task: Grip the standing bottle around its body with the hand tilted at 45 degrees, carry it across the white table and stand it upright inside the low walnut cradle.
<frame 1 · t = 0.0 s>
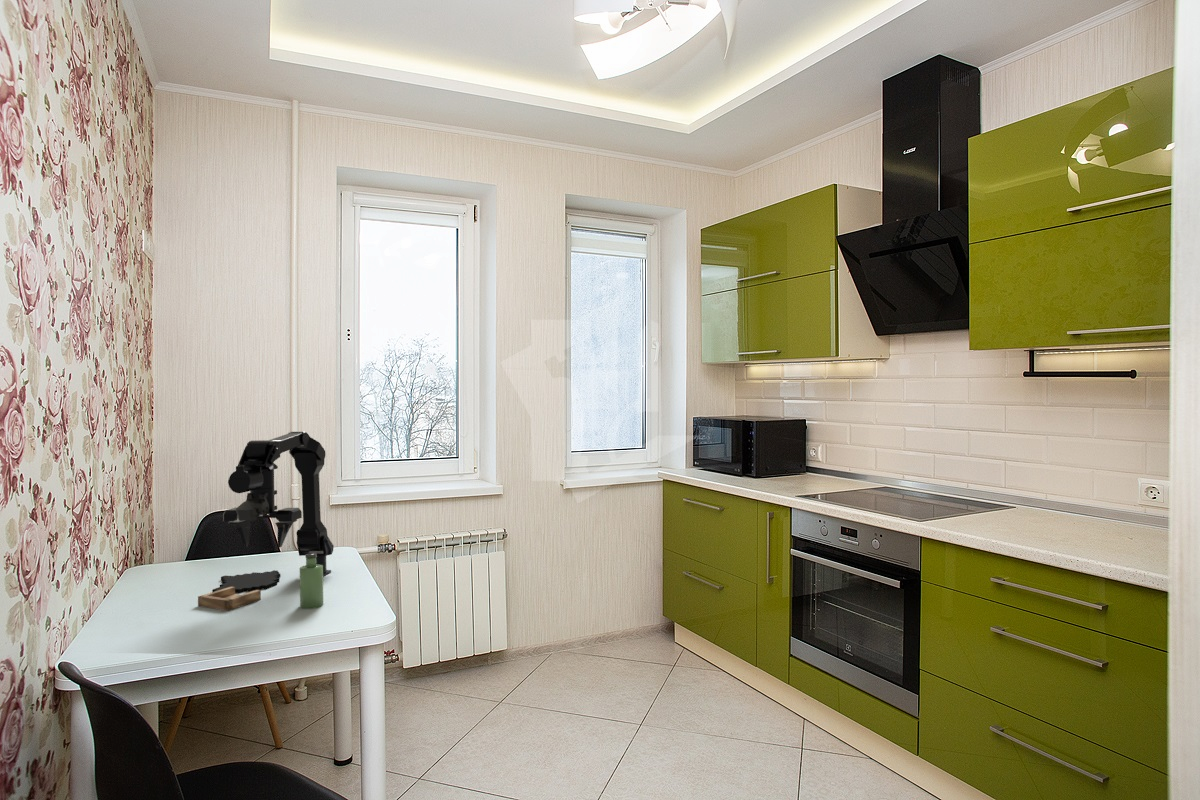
hand: (263, 547, 183), 15 cm above the table, fingers open, 9 cm apart
cradle: (229, 602, 183), on the table
bottle: (311, 605, 180), on the table
decorative item: (245, 586, 202), on the table
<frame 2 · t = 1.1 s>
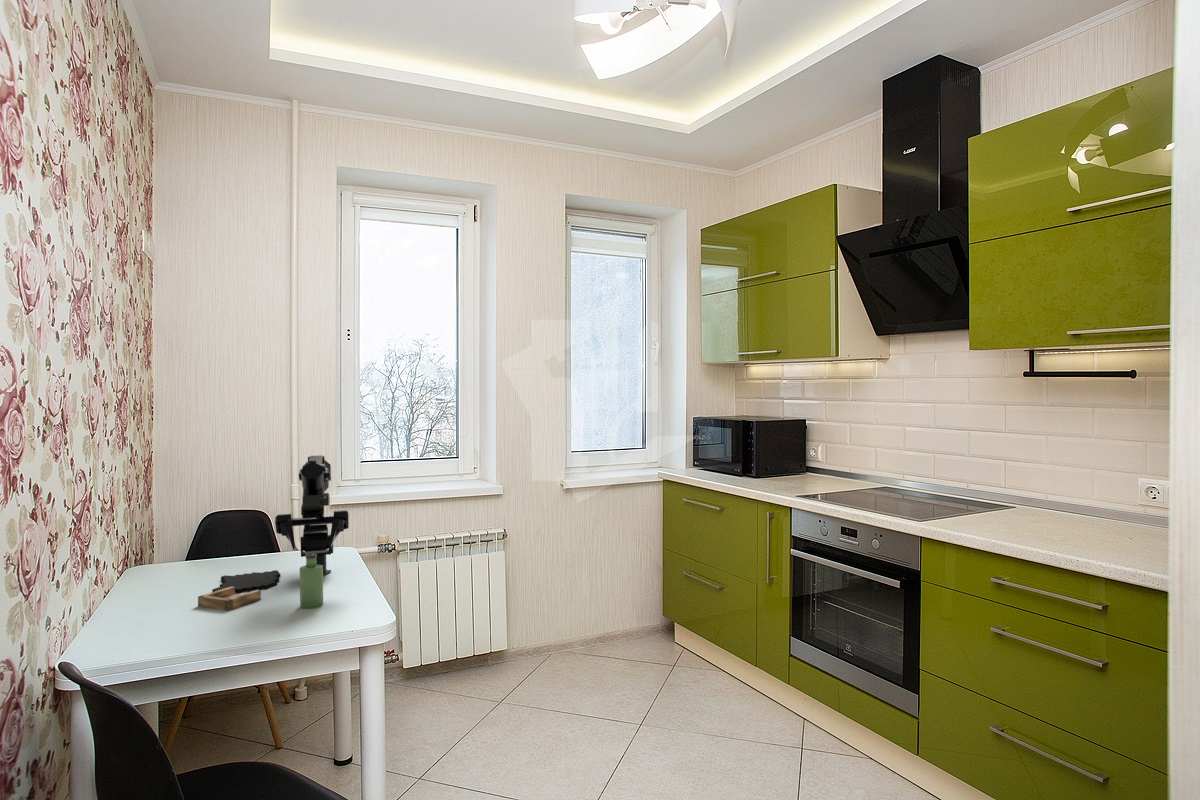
hand: (312, 547, 188), 13 cm above the table, fingers open, 9 cm apart
nothing on the table moved.
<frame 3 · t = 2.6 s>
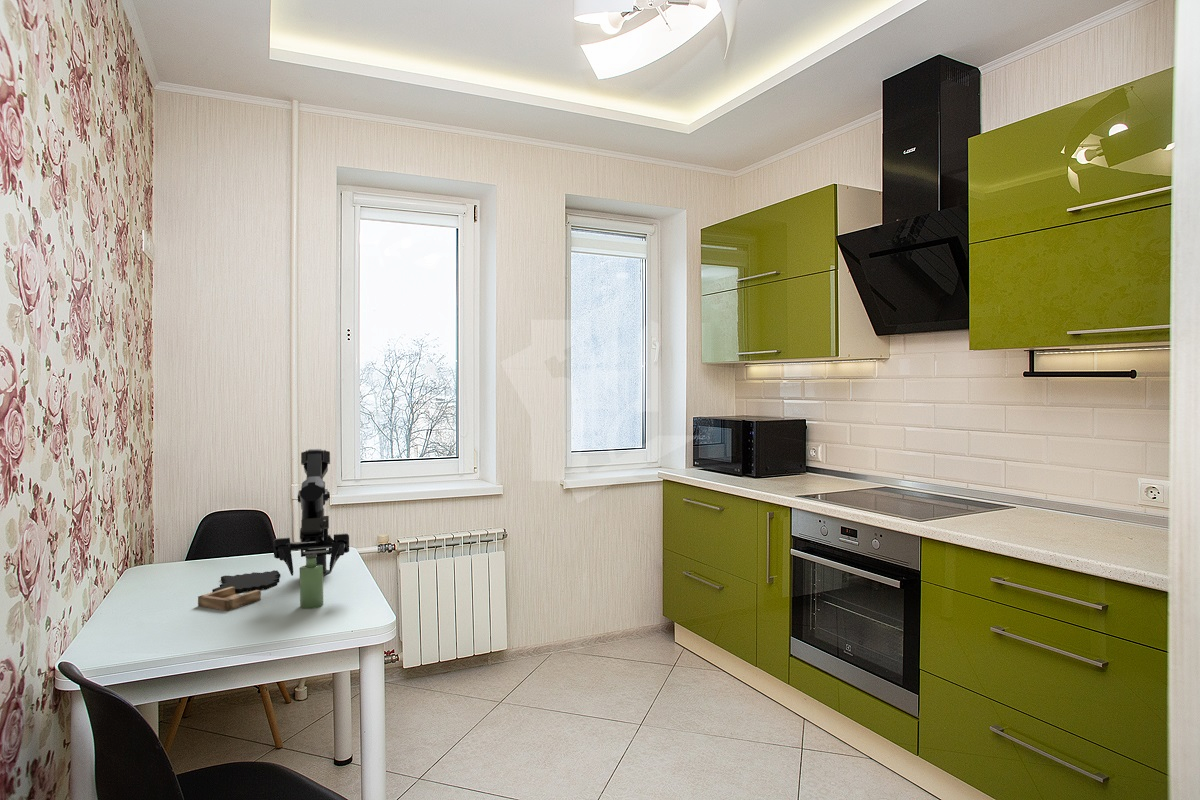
hand: (311, 573, 181), 8 cm above the table, fingers open, 9 cm apart
nothing on the table moved.
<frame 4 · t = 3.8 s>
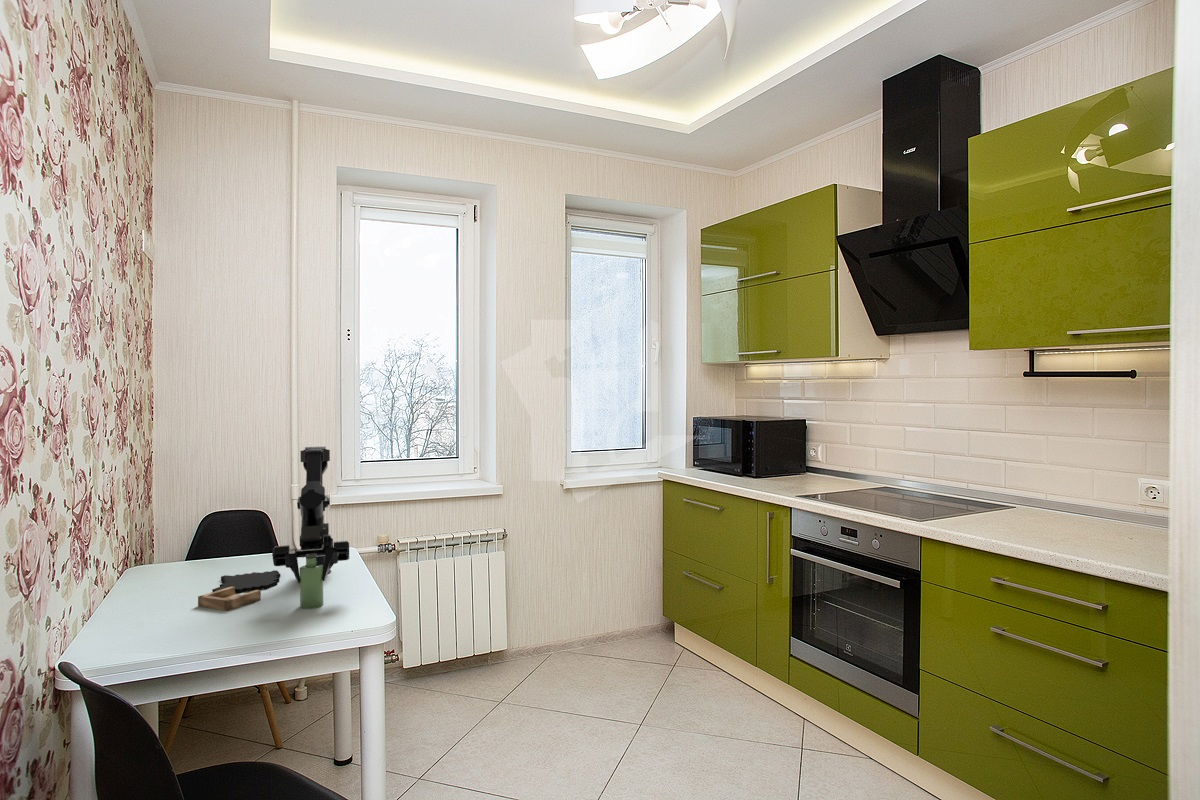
hand: (311, 581, 179), 7 cm above the table, fingers closed on bottle, 6 cm apart
bottle: (311, 605, 180), on the table, touching gripper
everything else where it was.
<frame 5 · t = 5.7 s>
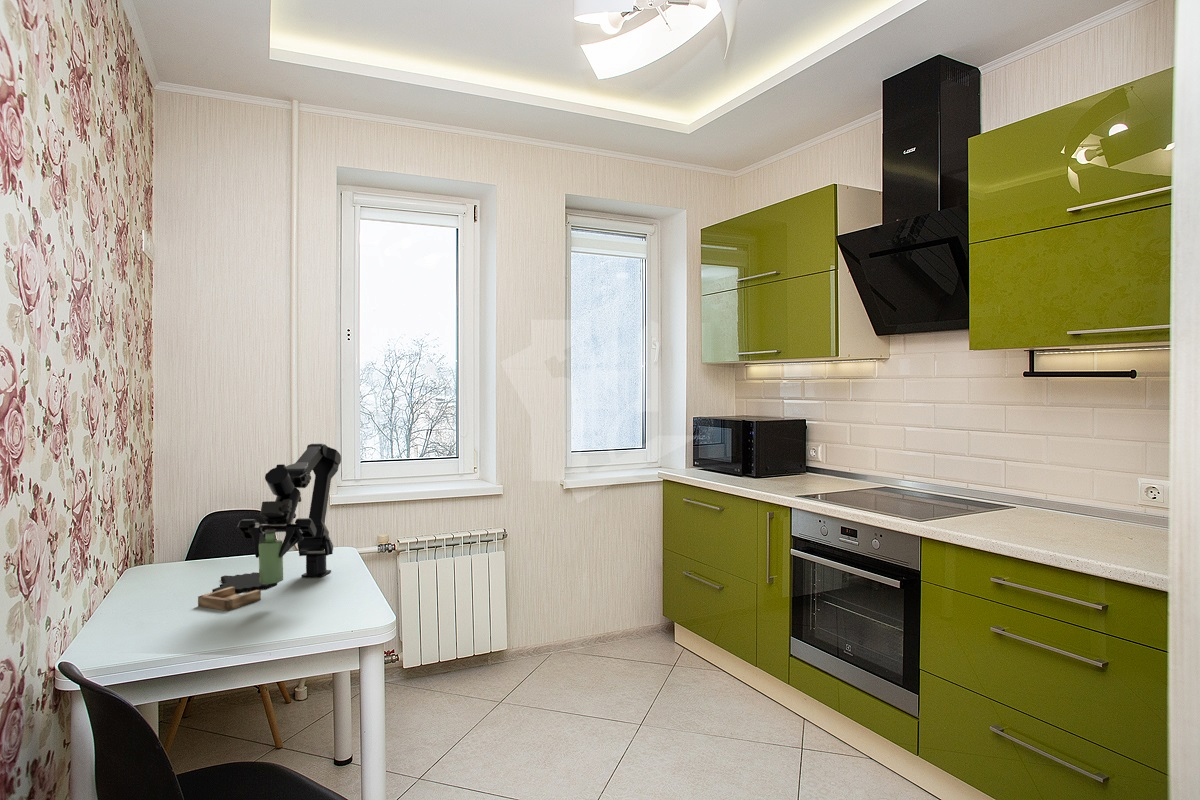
hand: (268, 556, 178), 13 cm above the table, fingers closed on bottle, 6 cm apart
bottle: (271, 580, 180), point 7 cm above the table, touching gripper
everything else where it was.
when the fingers open (7 cm above the table, at t = 8.0 s): bottle stays where it is, resting on cradle.
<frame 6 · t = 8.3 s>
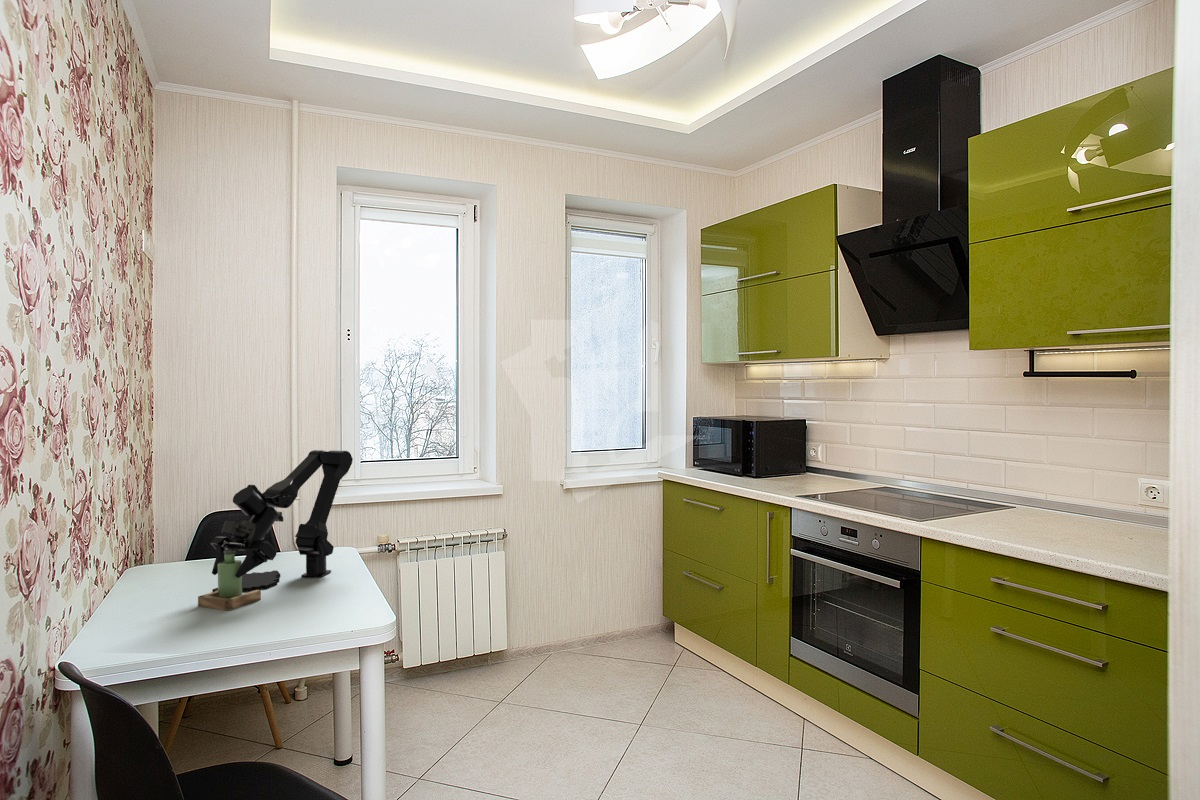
hand: (224, 575, 182), 8 cm above the table, fingers open, 8 cm apart
bottle: (230, 600, 183), point 1 cm above the table, touching cradle
everything else where it was.
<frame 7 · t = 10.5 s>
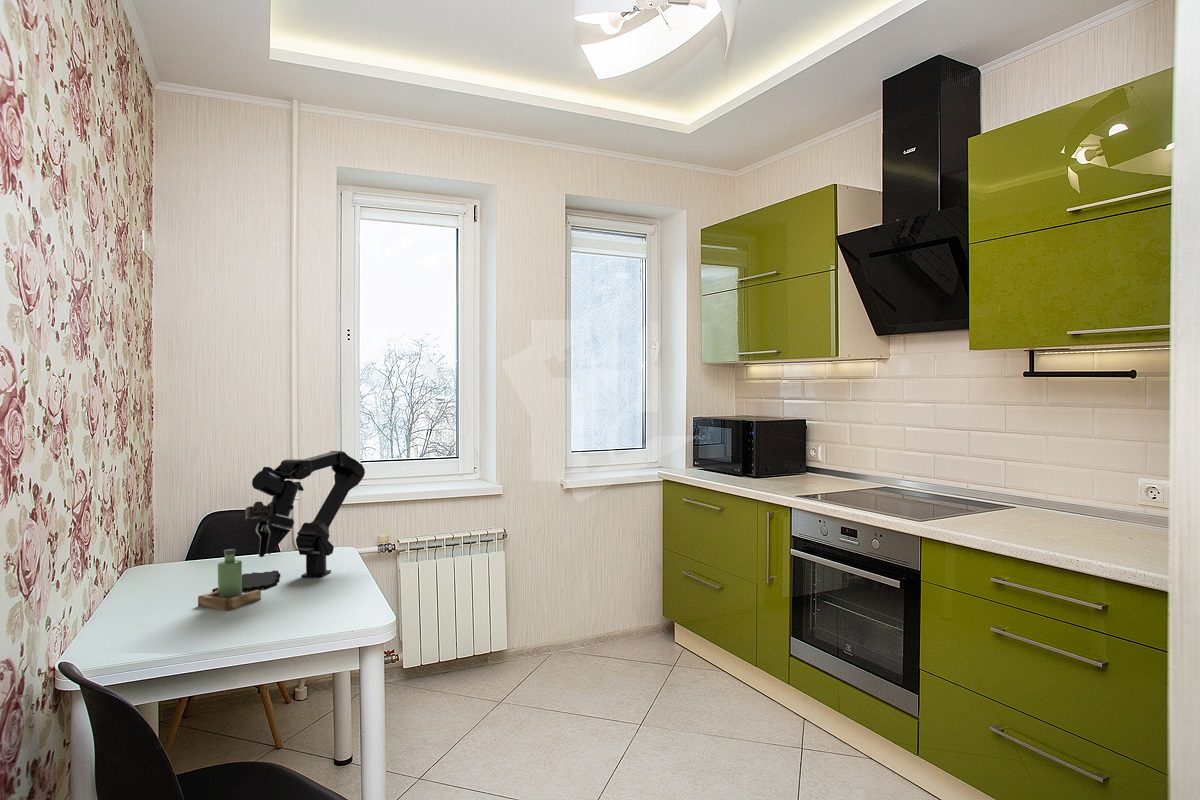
hand: (264, 555, 192), 10 cm above the table, fingers open, 9 cm apart
nothing on the table moved.
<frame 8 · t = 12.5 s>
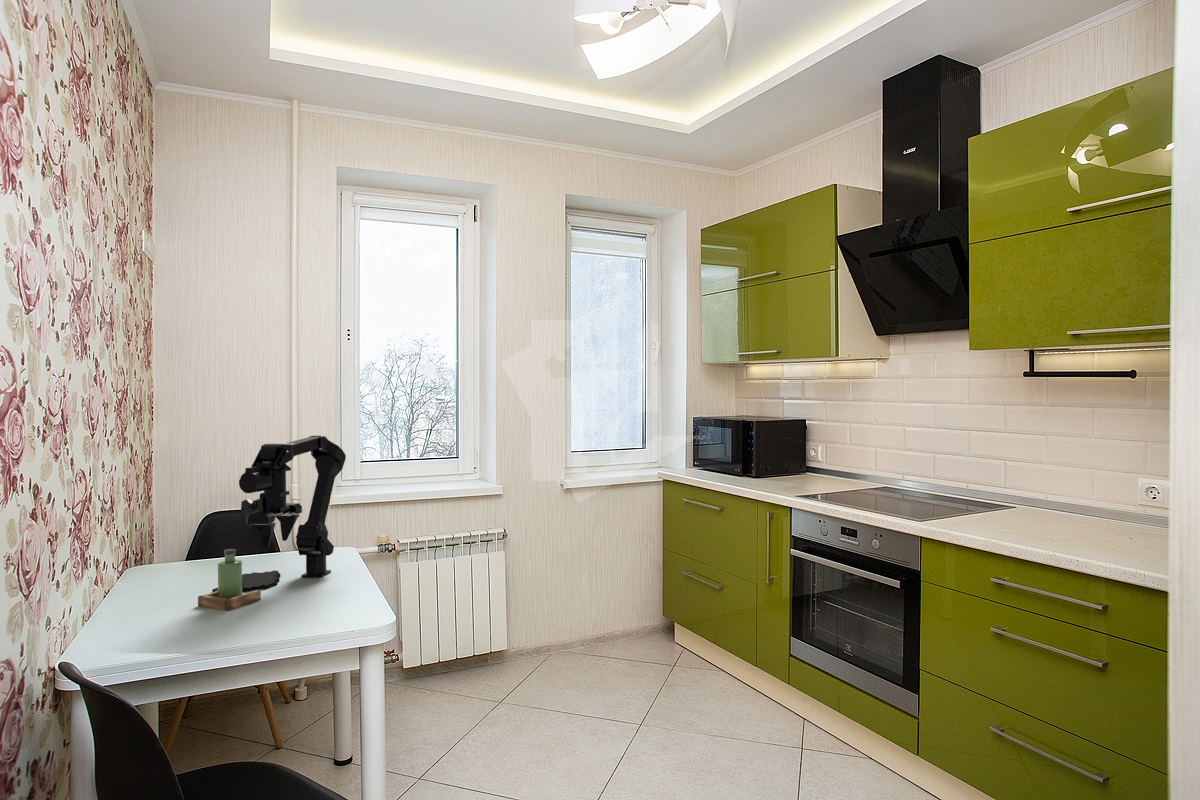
hand: (275, 544, 195), 13 cm above the table, fingers open, 9 cm apart
nothing on the table moved.
at the end: bottle inside the target area on the cradle (0.1 cm from its centre), point 0.6 cm above the cradle's base; bottle tilted 0°; the gripper is holding nothing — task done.
